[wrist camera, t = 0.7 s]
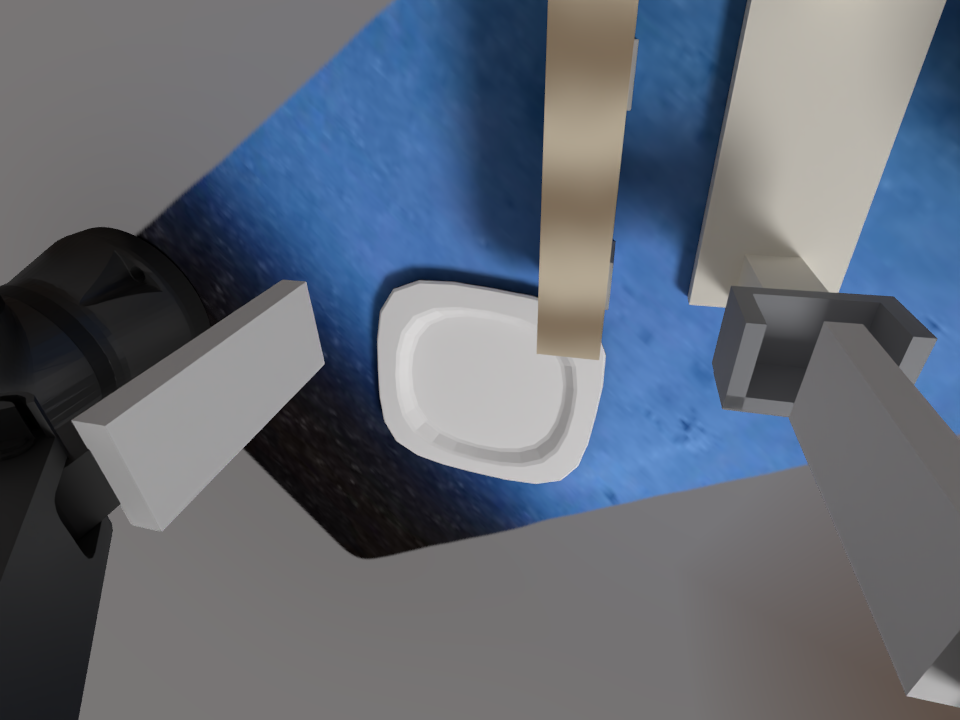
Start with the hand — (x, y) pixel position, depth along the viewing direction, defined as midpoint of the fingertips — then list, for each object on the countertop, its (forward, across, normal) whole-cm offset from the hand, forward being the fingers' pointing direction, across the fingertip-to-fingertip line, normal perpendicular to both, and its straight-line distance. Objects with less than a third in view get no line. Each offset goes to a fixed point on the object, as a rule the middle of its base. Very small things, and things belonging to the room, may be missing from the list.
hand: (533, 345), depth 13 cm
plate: (+22, -7, -16) cm, 28 cm away
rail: (+17, 0, 0) cm, 17 cm away
